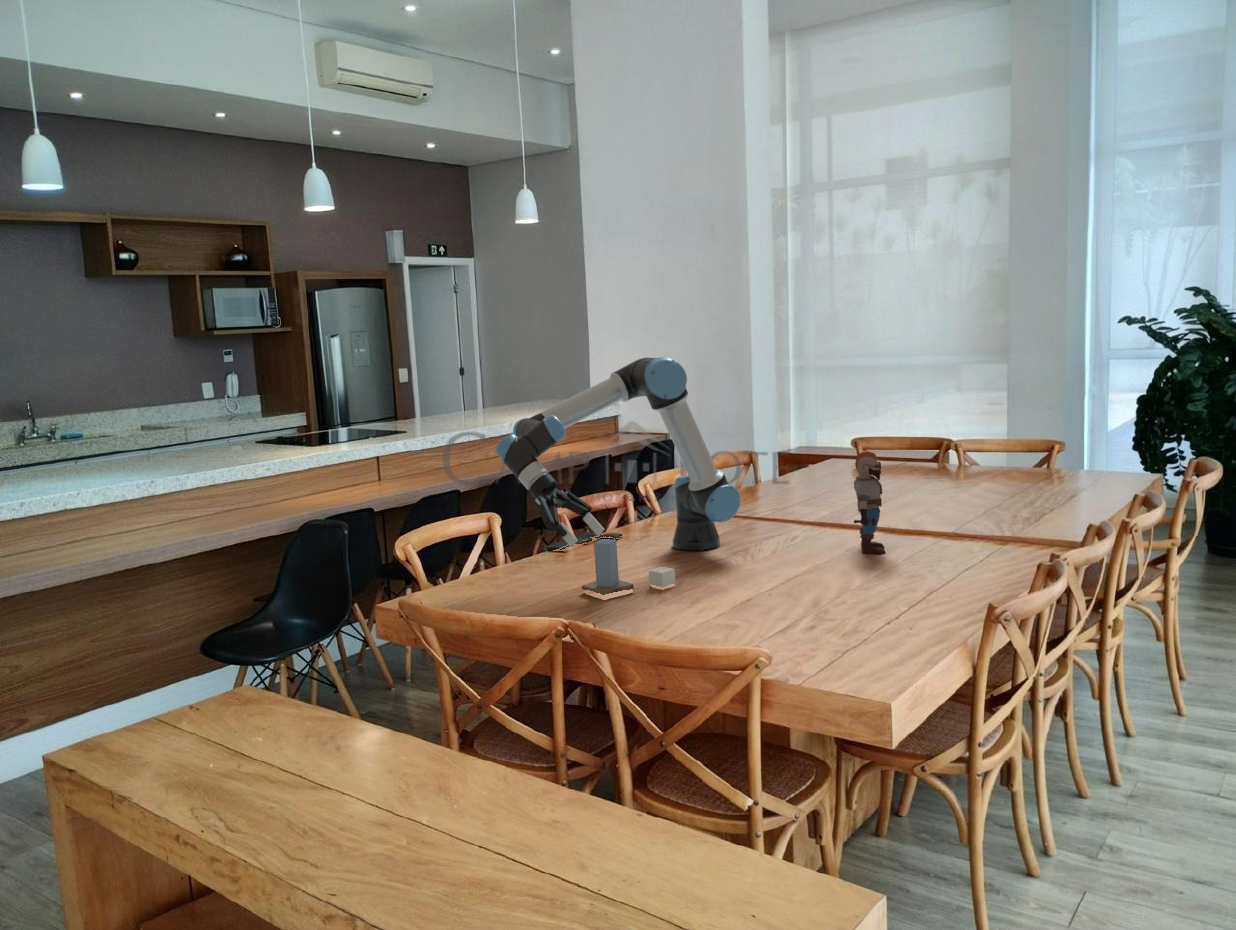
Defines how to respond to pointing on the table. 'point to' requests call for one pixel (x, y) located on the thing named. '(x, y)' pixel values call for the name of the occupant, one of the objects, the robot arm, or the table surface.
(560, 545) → the firearm
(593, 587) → the slab
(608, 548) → the pillar
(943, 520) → the table surface
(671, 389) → the robot arm
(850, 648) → the table surface
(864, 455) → the toy
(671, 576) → the grey-green cube
